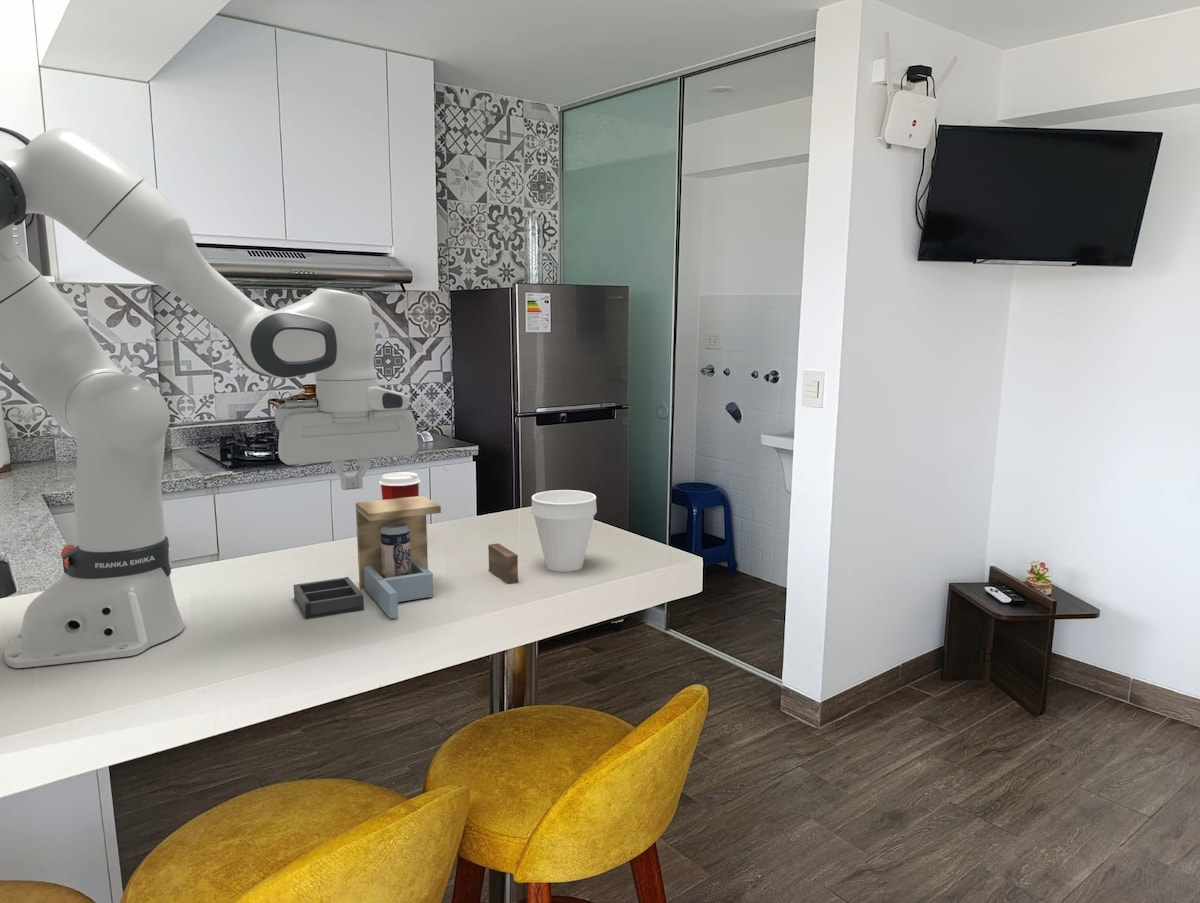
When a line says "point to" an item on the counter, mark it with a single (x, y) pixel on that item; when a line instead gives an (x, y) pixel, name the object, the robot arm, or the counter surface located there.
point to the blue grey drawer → (398, 587)
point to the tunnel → (389, 511)
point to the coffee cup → (399, 485)
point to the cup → (564, 526)
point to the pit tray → (328, 597)
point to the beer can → (395, 550)
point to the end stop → (503, 563)
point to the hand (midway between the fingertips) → (351, 488)
